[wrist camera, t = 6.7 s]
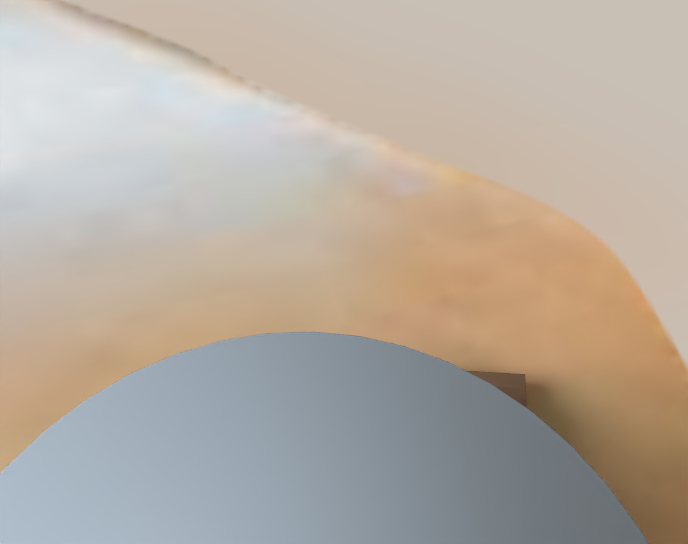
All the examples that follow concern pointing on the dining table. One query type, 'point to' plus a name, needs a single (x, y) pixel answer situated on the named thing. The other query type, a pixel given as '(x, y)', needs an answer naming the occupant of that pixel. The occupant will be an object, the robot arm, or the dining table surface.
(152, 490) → the blue-gray capsule
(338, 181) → the dining table surface
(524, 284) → the dining table surface
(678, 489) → the dining table surface
